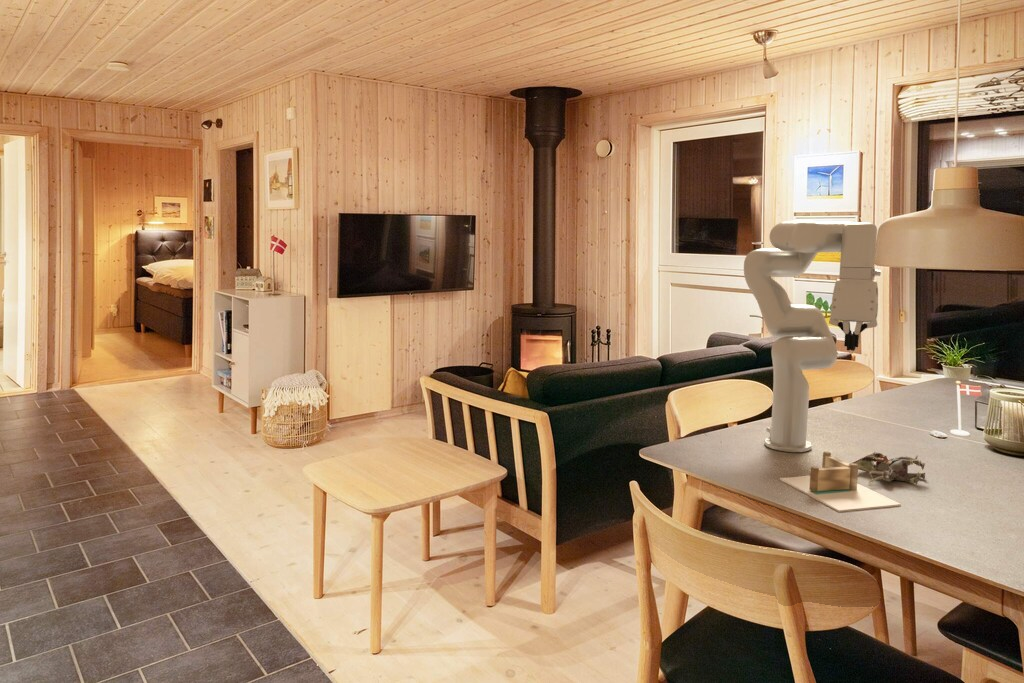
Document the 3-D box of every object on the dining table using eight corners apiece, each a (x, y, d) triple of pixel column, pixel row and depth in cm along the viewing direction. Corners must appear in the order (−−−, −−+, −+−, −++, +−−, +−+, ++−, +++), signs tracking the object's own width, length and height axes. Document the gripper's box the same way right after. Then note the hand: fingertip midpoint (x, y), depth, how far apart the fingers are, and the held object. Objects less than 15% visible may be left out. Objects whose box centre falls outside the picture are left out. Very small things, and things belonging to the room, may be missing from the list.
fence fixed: (819, 475, 189) (821, 452, 188) (826, 474, 189) (828, 451, 188) (851, 490, 177) (853, 466, 176) (858, 490, 178) (860, 465, 177)
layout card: (779, 479, 186) (780, 478, 186) (836, 474, 190) (836, 473, 190) (838, 512, 165) (838, 510, 165) (900, 505, 169) (900, 503, 169)
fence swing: (844, 486, 179) (846, 464, 178) (849, 489, 177) (851, 466, 177) (807, 488, 177) (809, 466, 177) (812, 491, 176) (813, 469, 175)
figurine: (910, 473, 176) (835, 459, 187) (908, 498, 177) (834, 482, 188) (933, 450, 190) (863, 438, 201) (932, 473, 191) (862, 459, 202)
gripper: (892, 274, 181) (886, 350, 184) (825, 272, 189) (821, 345, 192) (889, 276, 175) (883, 354, 178) (820, 274, 182) (815, 349, 185)
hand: (851, 349), depth 185 cm, fingers closed
